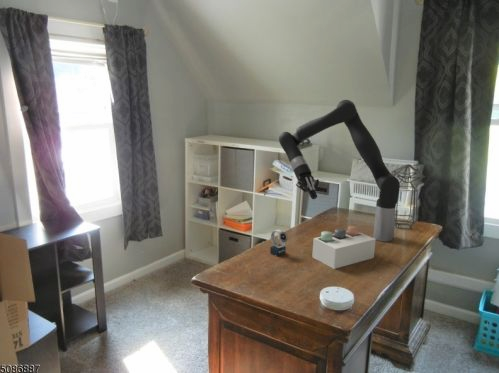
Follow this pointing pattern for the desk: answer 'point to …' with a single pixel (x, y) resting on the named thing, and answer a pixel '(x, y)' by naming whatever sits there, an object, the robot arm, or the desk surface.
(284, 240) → the watch
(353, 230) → the terracotta button
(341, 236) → the charcoal button
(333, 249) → the button console
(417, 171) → the geometric lantern
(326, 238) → the sage button
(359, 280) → the desk surface
